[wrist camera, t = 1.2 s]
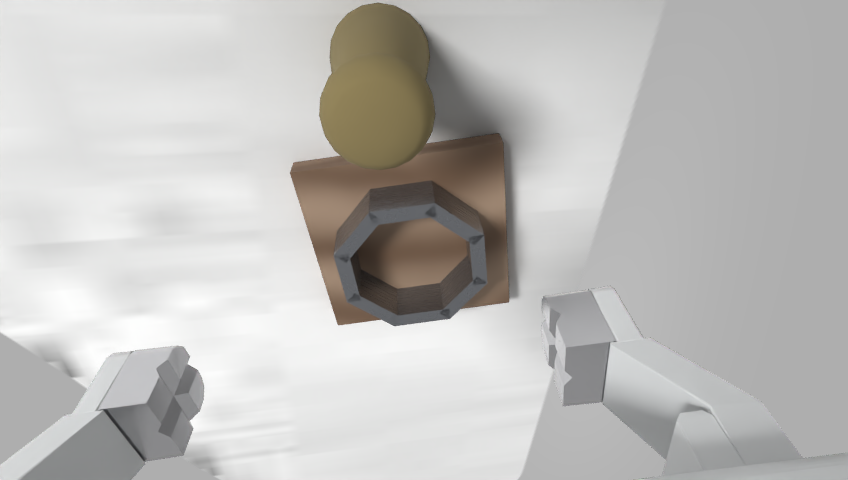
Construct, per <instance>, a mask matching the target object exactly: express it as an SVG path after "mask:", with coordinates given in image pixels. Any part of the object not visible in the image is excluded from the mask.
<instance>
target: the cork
mask: <svg viewBox="0 0 848 480" xmlns="http://www.w3.org/2000/svg"><path fill="white" fill-rule="evenodd" d="M429 60H430V54H429V46H428V40H427V38H426V36H425V34H424V32H423V30H422V28H421V26H420V25H419V24H418V23H417V21H416V20H415V19H414V18H413V17H412V16H411V15H410V14H409V13H407V12H405V11H403V10H402V9H400V8H398V7H396V6H394V5H388V4H382V3H374V4H368V5H362V6H360V7H358V8H357V9H355V10H353V11H351V12H350V13H348V14H347V15H346V16H345V17H344V18H343V20H342V21H341V22H340V23H339V24H338V25H337V27H336V30H335V32H334V34H333V37H332V39H331V46H330V63H331V70H332V74H331V75H330V76H329V78H328V80H327V83H326V85H325V87H324V90H323V92H322V95H321V97H320V112H319V117H320V120H321V124H322V127H323V131H324V134H325V137H326V138H327V140H328V141H329V143H330V144H331V146H332V147H333V149H334V150H335V151H336V152H337V153H338V154H339V155H341V156H342V157H343V158H344V159H345V160H347V161H348V162H350V163H352V164H355V165H357V166H359V167H362V168H366V169H374V170H384V169H390V168H396V167H398V166H400V165H402V164H404V163H406V162H409V161H411V160H412V159H413V158H414V157H415V156H416V155H417V154H418V153H419V152H420V151H421V150H422V149H423V148H424V146H425V144H426V142H427V140H428V139H429V137H430V135H431V133H432V130H433V124H434V119H435V108H434V101H433V95H432V92H431V90H430V88H429V86H428V84H427V82H426V76H427V71H428V66H429Z"/></svg>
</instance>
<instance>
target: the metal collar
mask: <svg viewBox="0 0 848 480" xmlns="http://www.w3.org/2000/svg"><path fill="white" fill-rule="evenodd" d="M423 218H432V219H433V220H435V221H436V222H438V223H440V224H441V225H443V226H444V227H446V228H448V229H449V230H451V231H452V232H454V233H455V234H457V235H459V236H460V237H462V238H463V239H465V240H466V246H467V256H466V257H465V258H464V259H463V260H462V261H461V262H460V263H459V264H458V265H457V266H456V267H455V268H454V269H453V270H452V271H451V272H450V273H449V274H448V275H447V276H446V277H445V278H444V279H443V280H442V281H441V282H440V283H436V284H428V285H421V286H414V287H406V288H399V289H397V288H395V287H393V286H391V285H389V284H388V283H386V282H384V281H382V280H380V279H378V278H376V277H375V276H373V275H371V274H369V273H367V272H365V271H364V270H362V269H361V265H360V261H359V257H358V254H357V250H358V248H359V247H360V246H361V245H362V244H363V243H364V241H365V240H366V239H367V238H368V237H369V235H370V234H371V233H372V232H373V231H374V229H375V228H376V227H377V226H378V225H380V224H387V223H395V222H402V221H409V220H416V219H423ZM333 256H334V259H335V263H336V266H337V270H338V273H339V276H340V280H341V283H342V287H343V290H344V294H345V297H346V301H347V303H349V304H351V305H353V306H355V307H357V308H359V309H361V310H363V311H365V312H367V313H369V314H371V315H373V316H375V317H377V318H379V319H381V320H383V321H385V322H387V323H389V324H391V325H393V326H399V325H407V324H414V323H421V322H429V321H436V320H444V319H450V318H451V317H452V316H453V315H454V314H456V313H457V312H458V311H459V310H460V309H461V308H462V307H463V306H464V305H465V304H466V303H467V302H468V301H469V300H470V299H471V298H472V297H473V296H474V295H476V294H477V293H478V292H479V291H480V290H481V289H482V288H483V287H484V286H485V285H486V284H487V283H488V282H487V269H486V254H485V240H484V232H483V228H482V225H481V221H480V218H479V214H478V211H477V210H475V209H474V208H472V207H471V206H469V205H468V204H466V203H465V202H463V201H462V200H460V199H459V198H457V197H456V196H454V195H453V194H451V193H450V192H448V191H447V190H445V189H444V188H442V187H441V186H439V185H438V184H436V183H435V182H433V181H432V180H430V181H423V182H416V183H409V184H402V185H395V186H388V187H381V188H374V189H370V190H369V191H368V193H367V194H366V195H365V196H364V198H363V199H362V200H361V201H360V203H359V204H358V205H357V206H356V208H355V209H354V210H353V211H352V213H351V214H350V215H349V216H348V218H347V219H346V220H345V221H344V223H343V224H342V225H341V226H340V228H339V229H338V230H337V234H336V241H335V248H334V255H333Z"/></svg>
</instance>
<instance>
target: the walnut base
mask: <svg viewBox="0 0 848 480" xmlns="http://www.w3.org/2000/svg"><path fill="white" fill-rule="evenodd" d="M290 174H291V178H292V181H293V184H294V187H295V190H296V193H297V197H298V200H299V203H300V206H301V209H302V212H303V216H304V219H305V222H306V225H307V228H308V232H309V235H310V238H311V241H312V244H313V247H314V251H315V254H316V257H317V260H318V263H319V266H320V270H321V273H322V276H323V279H324V282H325V285H326V289H327V292H328V295H329V298H330V301H331V305H332V308H333V311H334V314H335V317H336V320H337V324H338V325H344V324H352V323H359V322H367V321H374V320H381V319H379V318H377V317H375V316H373V315H371V314H369V313H367V312H365V311H363V310H361V309H359V308H357V307H355V306H353V305H351V304H349V303H347V301H346V297H345V294H344V290H343V287H342V283H341V280H340V276H339V273H338V270H337V266H336V263H335V259H334V256H333V255H334V248H335V241H336V234H337V230H338V229H339V228H340V226H341V225H342V224H343V223H344V221H345V220H346V219H347V218H348V216H349V215H350V214H351V213H352V211H353V210H354V209H355V208H356V206H357V205H358V204H359V203H360V201H361V200H362V199H363V198H364V196H365V195H366V194H367V193H368V191H369V190H370V189H374V188H381V187H388V186H395V185H402V184H409V183H416V182H423V181H430V180H432V181H433V182H435V183H436V184H438V185H439V186H441V187H442V188H444V189H445V190H447V191H448V192H450V193H451V194H453V195H454V196H456V197H457V198H459V199H460V200H462V201H463V202H465V203H466V204H468V205H469V206H471V207H472V208H474V209H475V210H477V211H478V214H479V218H480V221H481V225H482V228H483V232H484V240H485V254H486V269H487V282H488V283H487V284H486V285H485V286H484V287H483V288H482V289H481V290H480V291H479V292H478V293H477V294H476V295H474V296H473V297H472V298H471V299H470V300H469V301H468V302H467V303H466V304H465V305H464V306H463V307H462V308H461V309H463V308H470V307H478V306H485V305H492V304H500V303H507V302H509V284H508V257H507V230H506V203H505V176H504V149H503V141H502V139H501V137H500V134H499V133H498V134H491V135H484V136H477V137H470V138H463V139H456V140H449V141H442V142H435V143H428V144H425V146H424V148H423V149H422V150H421V151H420V152H419V153H418V154H417V155H416V156H415V157H414V158H413V159H412V160H411V161H409V162H406V163H404V164H402V165H400V166H398V167H396V168H390V169H384V170H374V169H366V168H362V167H359V166H357V165H355V164H352V163H350V162H348V161H347V160H345V159H344V158H343V157H342V156H337V157H330V158H323V159H316V160H309V161H302V162H295V163H293V166H292V169H291V172H290ZM357 254H358V257H359V261H360V265H361V269H362V270H364V271H365V272H367V273H369V274H371V275H373V276H375V277H376V278H378V279H380V280H382V281H384V282H386V283H388V284H389V285H391V286H393V287H395V288H397V289H399V288H406V287H414V286H421V285H428V284H436V283H440V282H441V281H442V280H443V279H444V278H445V277H446V276H447V275H448V274H449V273H450V272H451V271H452V270H453V269H454V268H455V267H456V266H457V265H458V264H459V263H460V262H461V261H462V260H463V259H464V258H465V257H466V256H467V246H466V240H465V239H463V238H462V237H460V236H459V235H457V234H455V233H454V232H452V231H451V230H449V229H448V228H446V227H444V226H443V225H441V224H440V223H438V222H436V221H435V220H433V219H432V218H423V219H416V220H409V221H402V222H395V223H387V224H380V225H378V226H377V227H376V228H375V229H374V231H373V232H372V233H371V234H370V235H369V237H368V238H367V239H366V240H365V241H364V243H363V244H362V245H361V246H360V247H359V248H358V250H357Z"/></svg>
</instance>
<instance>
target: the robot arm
mask: <svg viewBox="0 0 848 480" xmlns="http://www.w3.org/2000/svg"><path fill="white" fill-rule="evenodd" d="M542 311H543V314H544V317H545V320H544V322H543V323H542V340H543V347H544V351H545V355H546V358H547V361H548V364H549V366H551V367H552V368H554V382H555V385H556V388H557V391H558V393H559V396H560V399H561V401H562V405H563V406H569V405H579V404H589V403H599V402H603V405H604V406H605V407H607V408H608V409H609V410H610V411H611V412H613V414H615V415H616V416H617V417H618V418H619V419H620V420H621V421H622V422H624V423H625V424H626V425H627V426H628V427H629V428H630V429H632V430H633V431H634V432H635V433H636V434H637V435H638V436H640V437H641V438H642V439H643V440H644V441H645V442H646V443H647V444H648V445H650V446H651V447H652V448H653V449H654V450H655V451H657V452H658V453H659V454H660V455H661V456H662V457H663V458H664V459H666V462H665V466H664V470H663V473H662V476H659V477H650V478H643V479H634V480H848V453H841V454H833V455H826V456H817V457H809V458H802V456H801V455H800V454H799V452H798V451H797V449H796V448H795V447H794V445H793V444H792V443H791V441H790V440H789V439H788V437H787V436H786V435H785V433H784V432H783V430H782V429H781V428H780V426H779V425H778V424H777V422H776V421H775V420H774V418H773V417H772V415H771V414H770V413H769V411H768V410H767V409H766V407H765V406H764V405H763V403H762V402H761V401H760V400H758V399H756V398H755V397H753V396H751V395H749V394H748V393H746V392H744V391H742V390H741V389H739V388H737V387H735V386H734V385H732V384H730V383H729V382H727V381H725V380H723V379H722V378H720V377H718V376H716V375H715V374H713V373H711V372H710V371H708V370H706V369H704V368H702V367H701V366H699V365H697V364H696V363H694V362H692V361H690V360H689V359H687V358H685V357H684V356H682V355H680V354H678V353H677V352H675V351H673V350H671V349H670V348H668V347H666V346H664V345H663V344H661V343H659V342H658V341H656V340H654V339H652V338H643V336H642V334H641V333H640V331H639V329H638V328H637V326H636V324H635V323H634V321H633V319H632V318H631V316H630V314H629V312H628V311H627V309H626V307H625V306H624V304H623V302H622V301H621V299H620V297H619V295H618V294H617V292H616V290H615V289H614V288H613V287H611V286H608V287H601V288H594V289H588V290H582V291H575V292H568V293H561V294H554V295H547V296H543V299H542ZM189 358H190V356H189V354H188V353H187V351H186V350H185V348H184V347H182V346H170V347H161V348H152V349H143V350H135V351H130V352H120V353H113V354H112V355H110V356H109V357H107V358H106V360H105V362H104V363H103V365H102V366H101V368H100V370H99V371H98V373H97V375H96V376H95V378H94V379H93V381H92V383H91V384H90V386H89V388H88V389H87V391H86V392H85V394H84V396H83V397H82V399H81V401H80V402H79V404H78V405H77V407H76V409H75V410H74V412H73V414H71V415H65V416H63V417H62V418H61V419H60V420H59V421H57V422H56V423H54V424H53V425H52V426H51V427H49V428H48V429H47V430H45V431H44V432H43V433H41V434H40V435H39V436H38V437H36V438H35V439H33V440H32V441H31V442H30V443H28V444H27V445H26V446H24V447H23V448H22V449H21V450H19V451H18V452H17V453H15V454H14V455H13V456H11V457H10V458H9V459H7V460H6V461H5V462H4V463H2V464H1V465H0V480H131V479H132V478H133V477H134V476H135V475H136V474H137V473H138V472H139V470H140V469H141V468H142V467H143V466H144V465H145V462H146V461H152V460H158V459H165V458H171V457H177V456H183V455H184V452H185V450H186V447H187V444H188V442H189V439H190V436H191V434H192V431H193V427H192V425H191V422H190V420H191V419H192V418H193V417H194V416H195V415H196V414H197V413H198V412H199V411H200V409H201V406H202V403H203V400H204V384H203V380H202V377H201V375H200V373H199V372H198V370H197V369H195V368H193V367H191V366H190V365H188V364H187V363H188V361H189Z"/></svg>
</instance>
